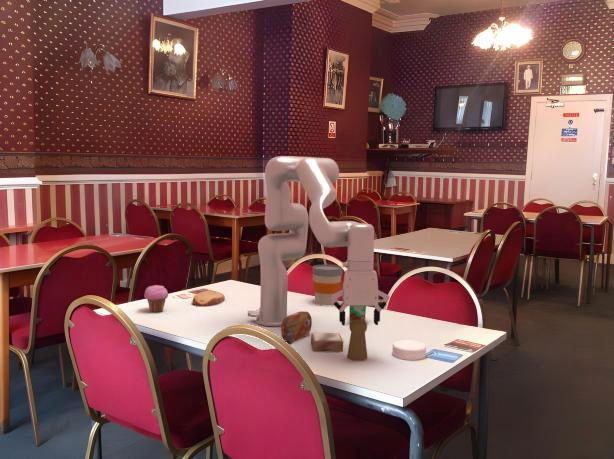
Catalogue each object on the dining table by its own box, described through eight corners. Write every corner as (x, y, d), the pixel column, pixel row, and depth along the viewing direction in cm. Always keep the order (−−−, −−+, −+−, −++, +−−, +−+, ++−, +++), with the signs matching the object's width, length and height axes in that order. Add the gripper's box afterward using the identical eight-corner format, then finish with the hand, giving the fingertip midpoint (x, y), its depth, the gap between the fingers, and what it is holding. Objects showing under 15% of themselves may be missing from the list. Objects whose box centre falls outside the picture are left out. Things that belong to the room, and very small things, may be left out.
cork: (345, 354, 176) (346, 318, 175) (365, 353, 177) (366, 318, 176) (348, 360, 170) (349, 323, 169) (369, 360, 171) (370, 323, 170)
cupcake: (168, 313, 220) (168, 287, 219) (144, 314, 218) (143, 287, 217) (168, 307, 228) (167, 282, 227) (144, 308, 226) (144, 283, 225)
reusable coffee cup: (306, 301, 245) (306, 265, 243) (332, 298, 250) (333, 263, 248) (319, 307, 233) (320, 270, 232) (347, 305, 239) (348, 268, 237)
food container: (366, 327, 206) (367, 299, 205) (348, 326, 207) (349, 298, 206) (369, 318, 218) (370, 292, 217) (353, 317, 219) (353, 291, 218)
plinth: (313, 351, 178) (313, 340, 178) (311, 342, 187) (311, 332, 187) (343, 351, 179) (343, 340, 179) (339, 342, 188) (339, 332, 187)
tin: (287, 345, 184) (287, 318, 183) (278, 343, 186) (279, 317, 185) (312, 334, 197) (312, 309, 196) (304, 332, 198) (304, 308, 198)
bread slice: (214, 294, 255) (214, 286, 255) (238, 302, 242) (238, 293, 241) (177, 300, 243) (177, 291, 243) (200, 308, 230) (200, 299, 229)
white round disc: (389, 350, 182) (389, 339, 181) (420, 350, 182) (421, 339, 182) (396, 361, 172) (396, 349, 171) (429, 361, 172) (430, 349, 172)
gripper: (332, 268, 166) (331, 327, 168) (392, 268, 168) (391, 327, 169) (329, 264, 174) (328, 321, 175) (387, 264, 175) (386, 320, 177)
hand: (359, 324), depth 172 cm, fingers open, 9 cm apart
